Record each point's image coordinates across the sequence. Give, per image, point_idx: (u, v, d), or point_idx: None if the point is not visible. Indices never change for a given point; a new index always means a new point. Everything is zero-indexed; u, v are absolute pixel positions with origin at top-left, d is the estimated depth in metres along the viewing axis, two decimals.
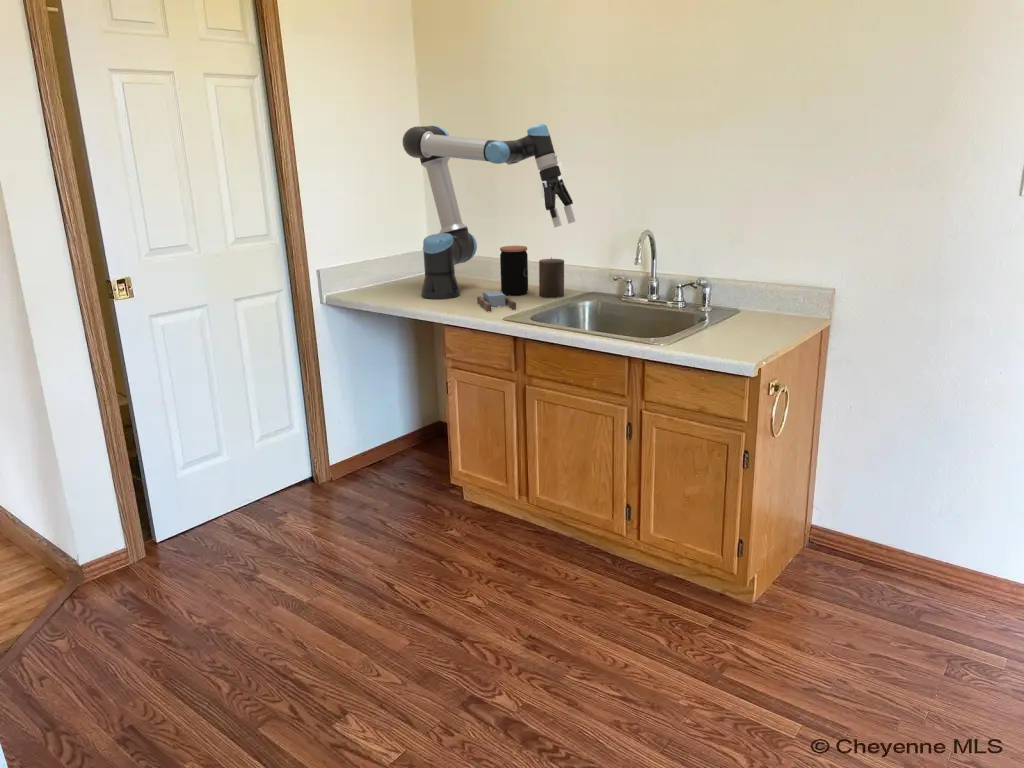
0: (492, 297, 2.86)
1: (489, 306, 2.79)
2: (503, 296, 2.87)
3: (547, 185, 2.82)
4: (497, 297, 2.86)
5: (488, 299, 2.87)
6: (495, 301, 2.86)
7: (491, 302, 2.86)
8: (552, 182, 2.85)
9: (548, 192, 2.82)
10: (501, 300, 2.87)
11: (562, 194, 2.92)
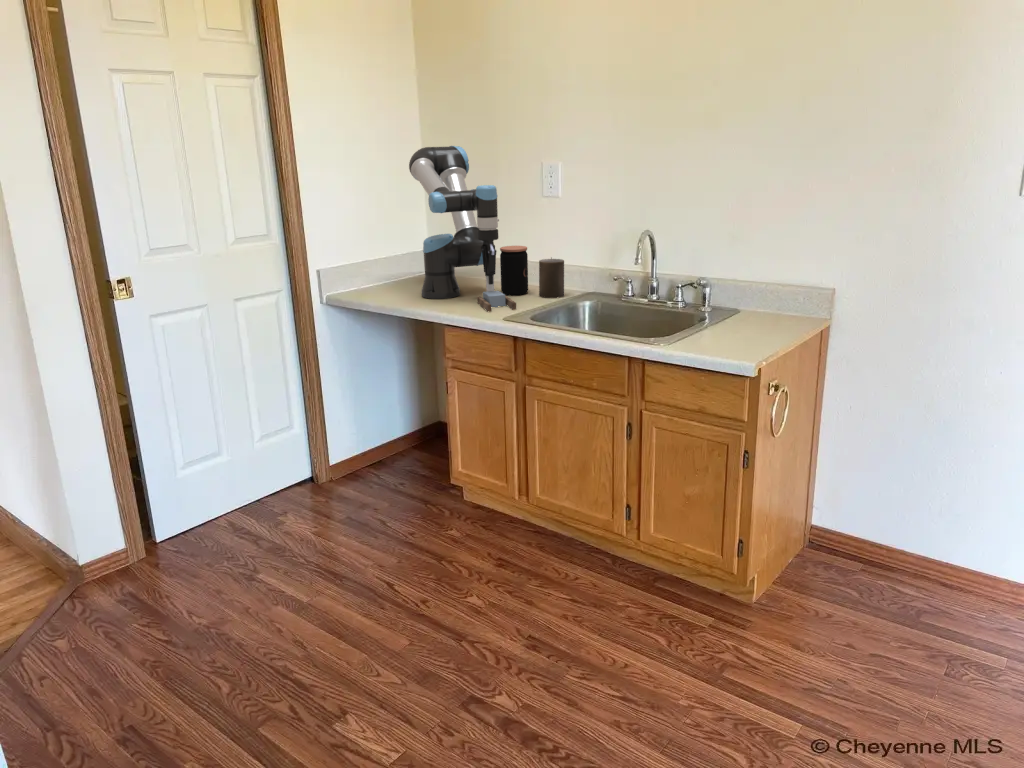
0: (492, 297, 2.86)
1: (489, 306, 2.79)
2: (503, 296, 2.87)
3: (494, 254, 2.86)
4: (497, 297, 2.86)
5: (488, 299, 2.87)
6: (495, 301, 2.86)
7: (491, 302, 2.86)
8: None
9: (494, 261, 2.87)
10: (501, 300, 2.87)
11: None
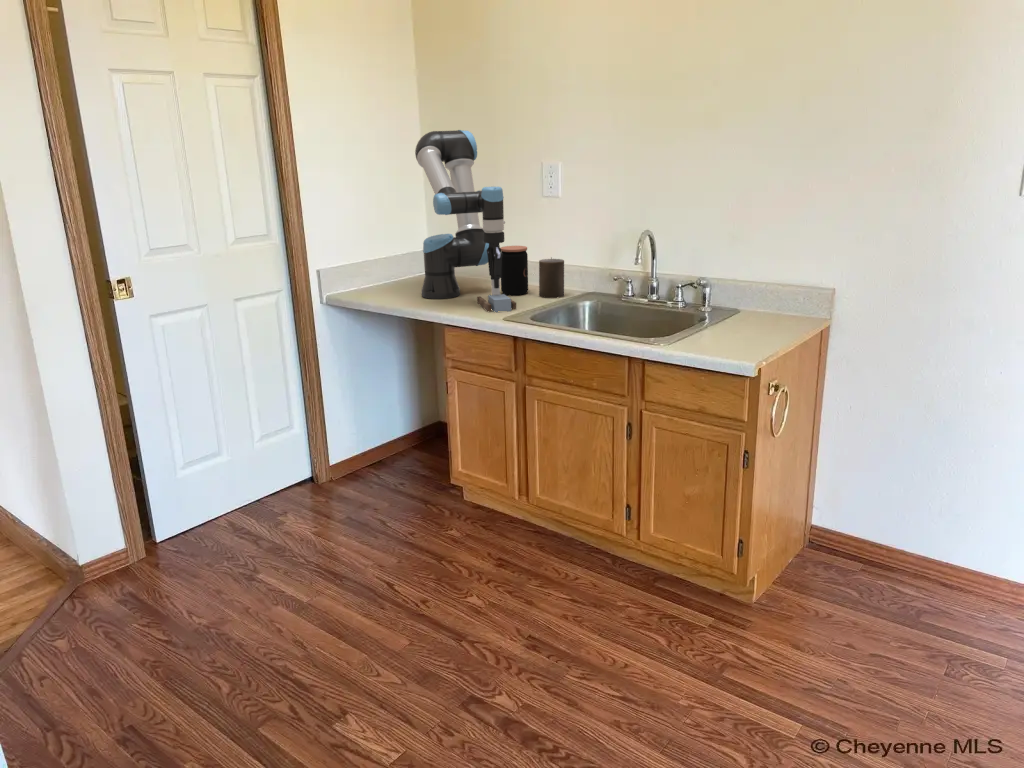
0: (498, 301, 2.78)
1: (489, 306, 2.79)
2: (509, 300, 2.79)
3: (500, 257, 2.78)
4: (503, 301, 2.79)
5: (493, 303, 2.79)
6: (501, 305, 2.79)
7: (496, 306, 2.79)
8: None
9: (500, 264, 2.80)
10: (507, 304, 2.80)
11: None
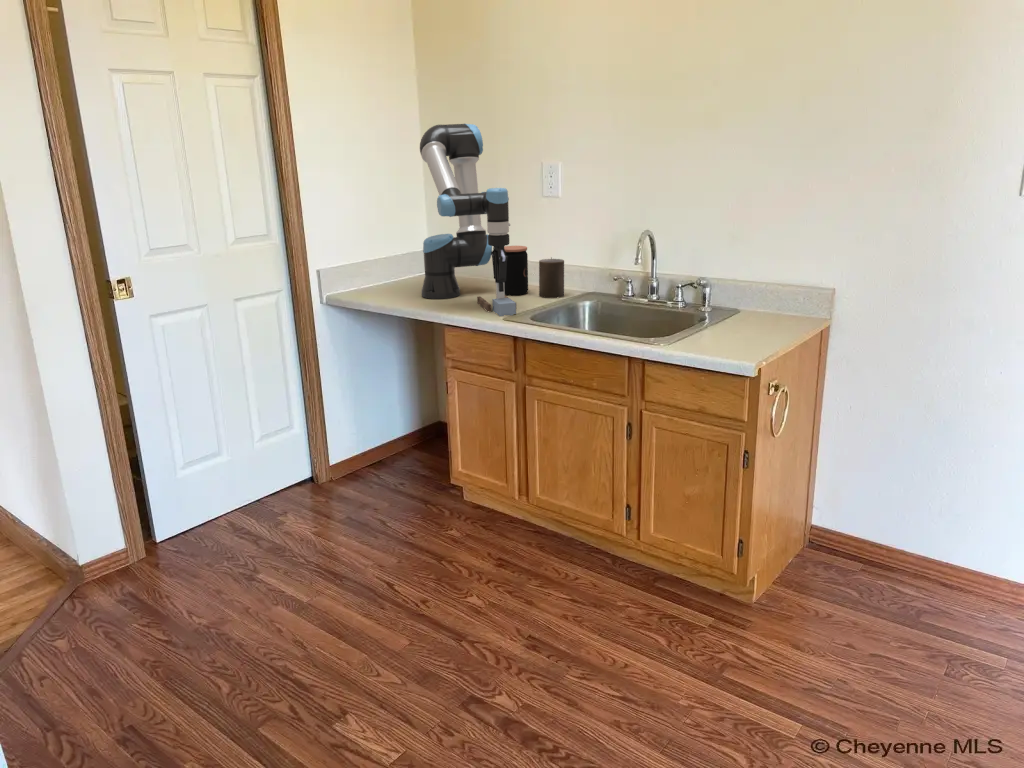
0: (502, 305, 2.72)
1: (489, 306, 2.79)
2: (514, 304, 2.73)
3: (505, 260, 2.72)
4: (507, 305, 2.73)
5: (498, 307, 2.74)
6: (505, 309, 2.73)
7: (501, 310, 2.73)
8: None
9: (504, 267, 2.74)
10: (511, 308, 2.74)
11: None
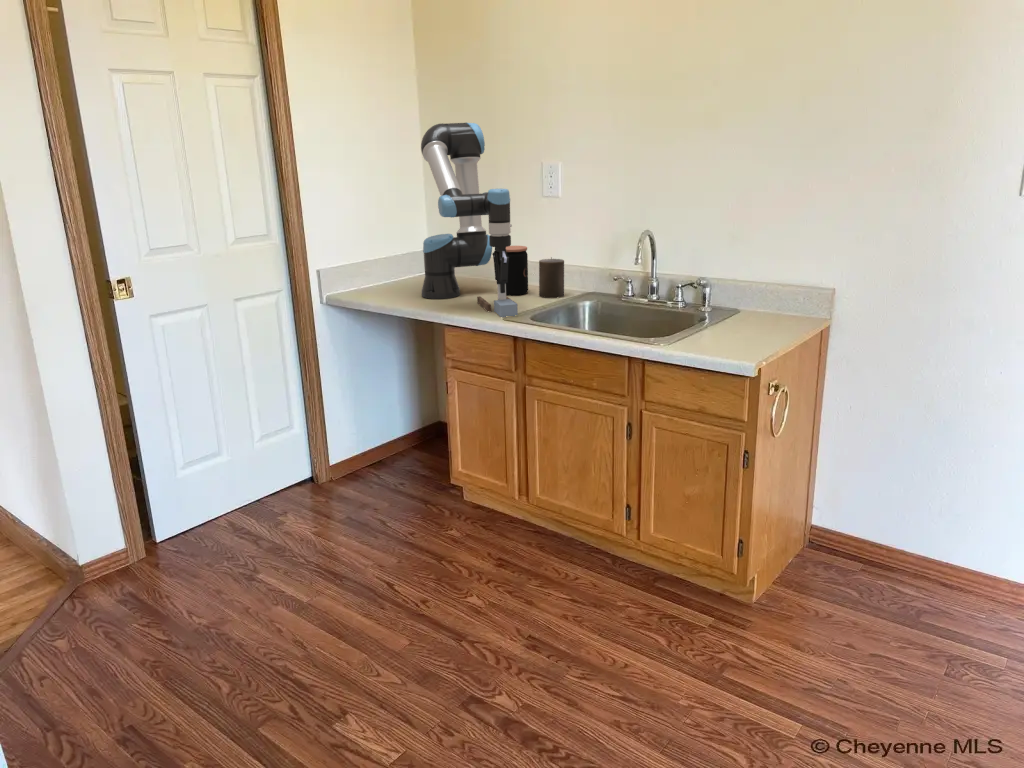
0: (504, 306, 2.71)
1: (489, 306, 2.79)
2: (515, 305, 2.72)
3: (506, 261, 2.71)
4: (509, 306, 2.71)
5: (499, 308, 2.72)
6: (507, 310, 2.71)
7: (503, 311, 2.71)
8: None
9: (506, 268, 2.72)
10: (513, 309, 2.72)
11: None
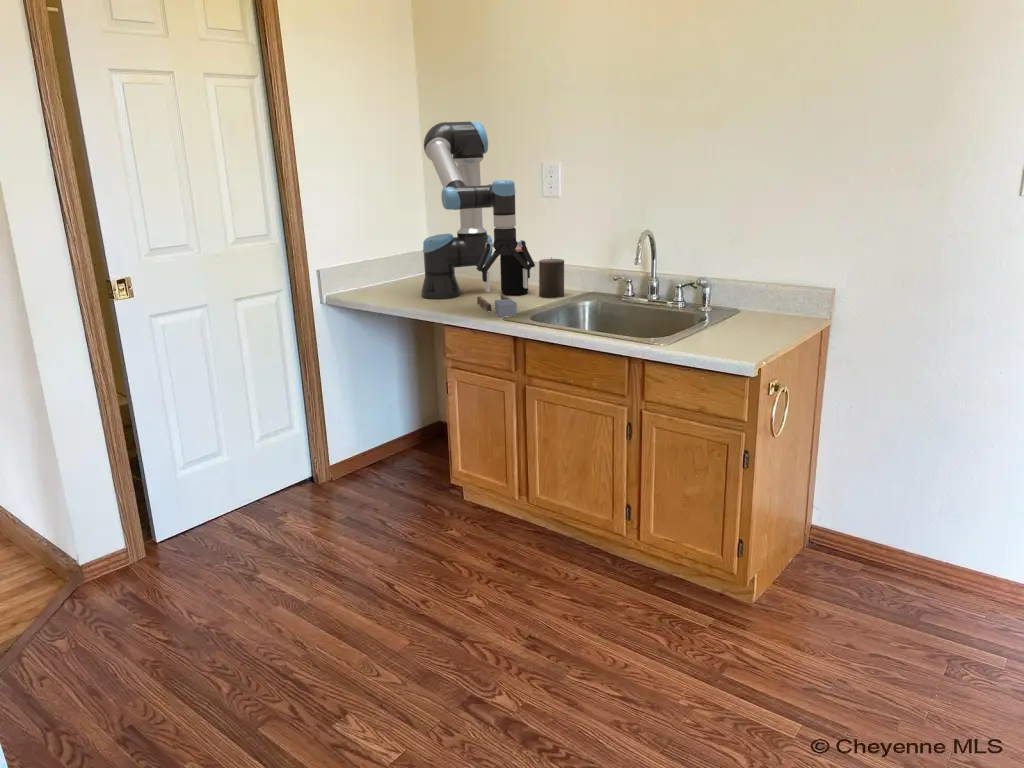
0: (502, 306, 2.71)
1: (489, 306, 2.79)
2: (514, 305, 2.71)
3: None
4: (508, 306, 2.71)
5: (498, 308, 2.72)
6: (505, 310, 2.71)
7: (501, 311, 2.71)
8: None
9: None
10: (512, 309, 2.72)
11: None
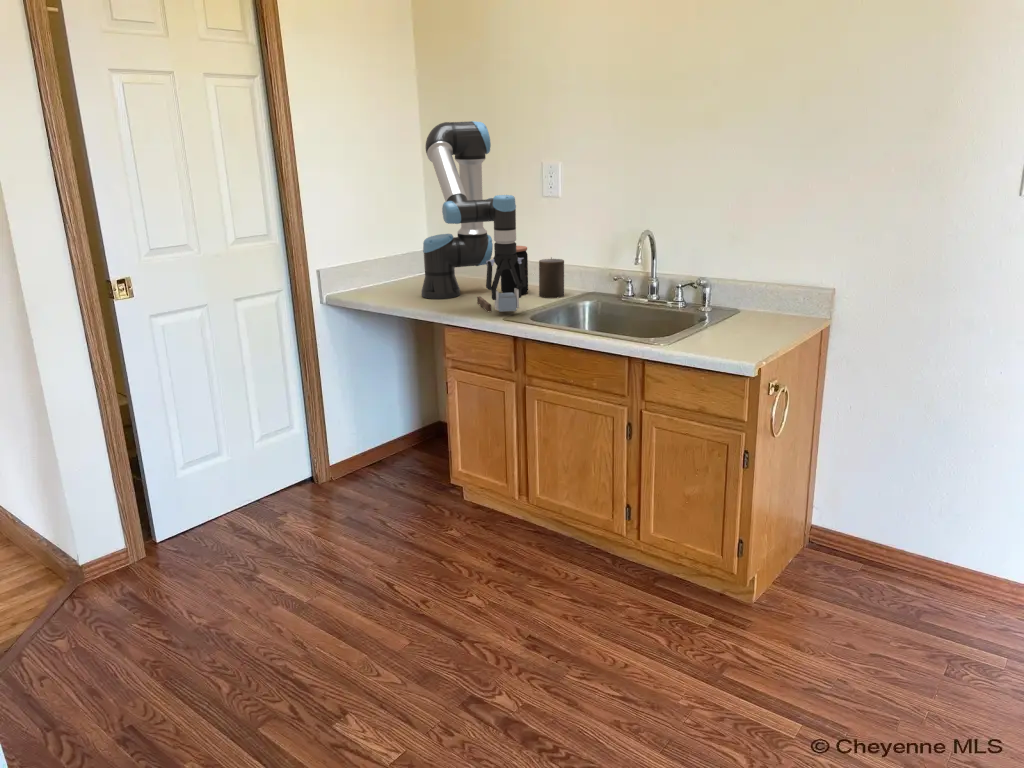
0: (502, 300, 2.71)
1: (489, 306, 2.79)
2: (514, 299, 2.71)
3: None
4: (507, 300, 2.71)
5: None
6: (505, 304, 2.71)
7: (501, 305, 2.71)
8: None
9: None
10: (512, 303, 2.71)
11: None
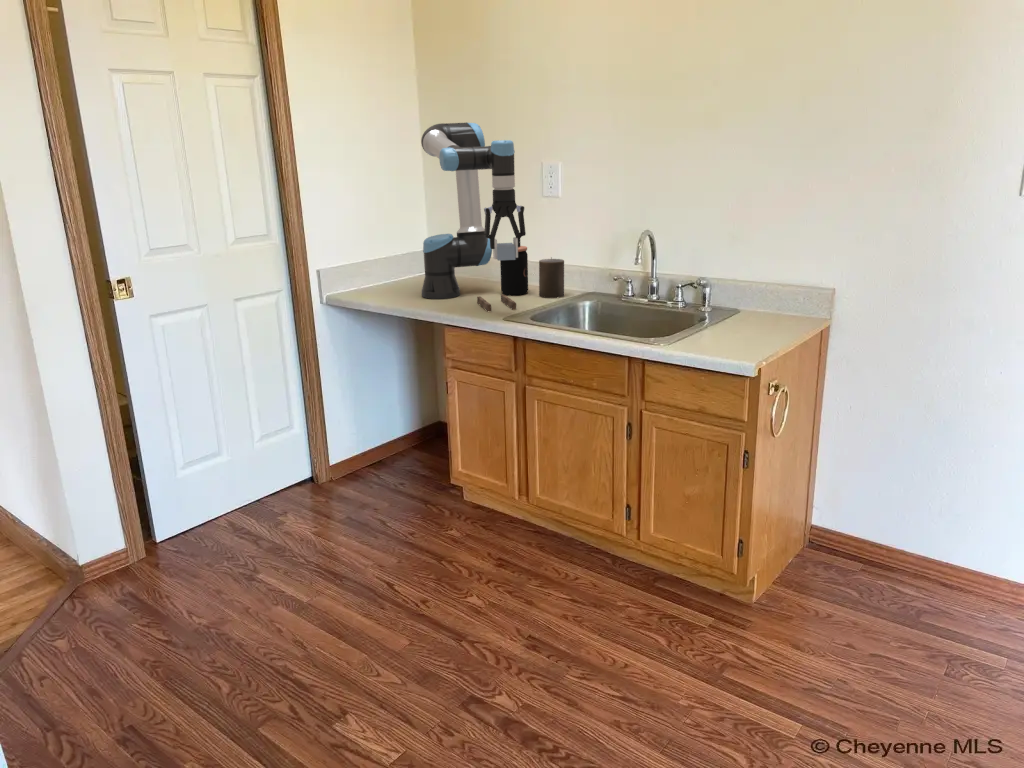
0: (501, 248, 2.65)
1: (489, 306, 2.79)
2: (513, 247, 2.65)
3: None
4: (506, 248, 2.65)
5: (497, 250, 2.66)
6: (504, 253, 2.66)
7: (500, 254, 2.65)
8: None
9: None
10: (511, 252, 2.66)
11: None
